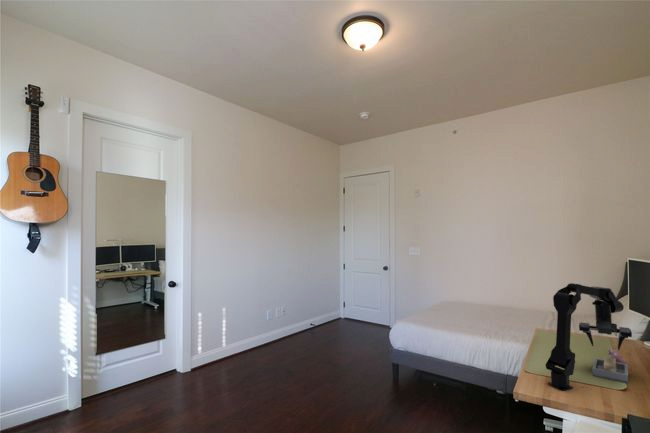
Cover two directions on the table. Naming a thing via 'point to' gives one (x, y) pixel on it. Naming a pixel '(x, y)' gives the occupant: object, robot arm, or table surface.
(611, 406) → the table surface
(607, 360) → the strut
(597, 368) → the bin
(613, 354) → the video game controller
